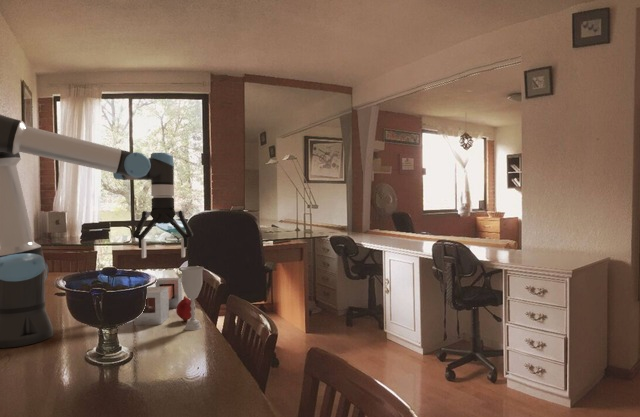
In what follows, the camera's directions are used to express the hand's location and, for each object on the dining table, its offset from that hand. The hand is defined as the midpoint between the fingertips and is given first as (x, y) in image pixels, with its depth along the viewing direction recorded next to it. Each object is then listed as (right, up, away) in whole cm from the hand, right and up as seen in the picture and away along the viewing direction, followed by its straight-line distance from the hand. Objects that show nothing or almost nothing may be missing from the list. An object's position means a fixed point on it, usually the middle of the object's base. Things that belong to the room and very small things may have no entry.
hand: (163, 257), depth 153 cm
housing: (+1, -19, -14) cm, 23 cm away
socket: (0, -18, +5) cm, 19 cm away
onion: (+12, -19, -15) cm, 27 cm away
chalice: (+17, -19, -22) cm, 34 cm away
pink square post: (+1, -15, -2) cm, 15 cm away
